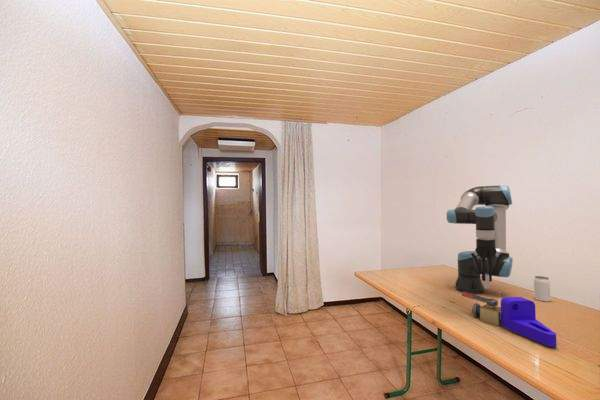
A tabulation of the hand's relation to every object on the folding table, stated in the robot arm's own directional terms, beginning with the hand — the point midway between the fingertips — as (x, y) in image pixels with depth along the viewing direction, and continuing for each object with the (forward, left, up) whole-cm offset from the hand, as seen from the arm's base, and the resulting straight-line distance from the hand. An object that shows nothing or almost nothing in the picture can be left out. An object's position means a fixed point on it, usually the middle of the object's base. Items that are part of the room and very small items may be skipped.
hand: (487, 287), depth 129 cm
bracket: (+20, -11, -12) cm, 26 cm away
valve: (+5, -8, -12) cm, 16 cm away
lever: (0, -7, -5) cm, 9 cm away
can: (+9, +44, -12) cm, 46 cm away
